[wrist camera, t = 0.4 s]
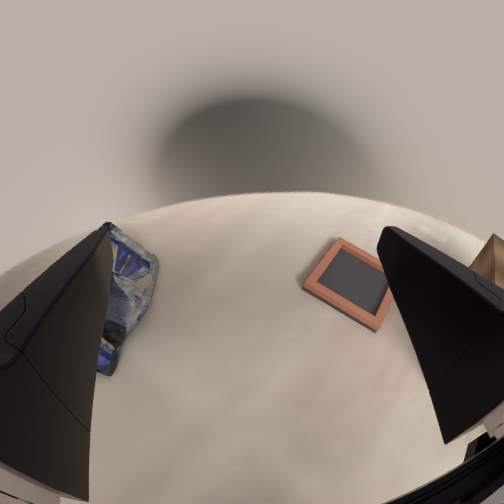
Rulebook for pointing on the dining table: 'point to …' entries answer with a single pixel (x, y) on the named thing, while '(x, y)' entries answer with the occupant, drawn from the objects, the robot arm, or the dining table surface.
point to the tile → (352, 284)
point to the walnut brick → (491, 261)
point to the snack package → (124, 295)
